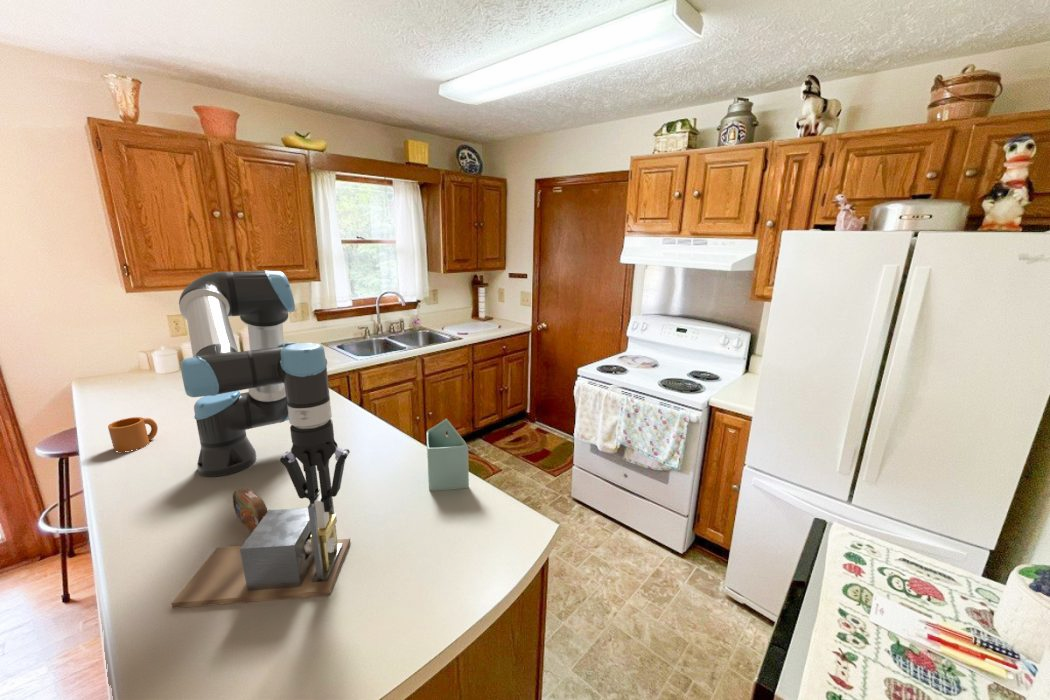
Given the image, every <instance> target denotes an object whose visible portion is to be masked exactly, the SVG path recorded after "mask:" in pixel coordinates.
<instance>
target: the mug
mask: <svg viewBox="0 0 1050 700" xmlns="http://www.w3.org/2000/svg"><path fill="white" fill-rule="evenodd" d="M146 425H149V426H150V432H149V433H148V431H147V427H146ZM107 428H108V433H109V437H110V440H111V443H112V447H113V450H115V451H118V452H125V451H131V450H135V451H137V450H136V449H138V450H140V449H139V448H141V449H143V448H145V447H147V446H148V445H149V444H150V441H152V440H153V439H154V438H155V437H156V436H157V433H158V424H157V422H156V421H155V420H154V419H152V418H149V417H142V416H141V417H140V416H138V417H137V416H133V417H127V418H121V419H117V420H115V421H113V422H111V423H109V424H108V425H107ZM151 439H152V440H151ZM149 440H150V441H149ZM147 444H148V445H147ZM146 445H147V446H146ZM144 446H145V447H144ZM142 447H143V448H142ZM115 451H114V452H115ZM131 452H132V451H131Z"/></svg>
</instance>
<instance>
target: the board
mask: <svg viewBox="0 0 1050 700" xmlns="http://www.w3.org/2000/svg"><path fill="white" fill-rule="evenodd" d="M337 543H338V544H340V543H342V549H341V551H340V553H339V556H338V558H337V560H336V563H335V565H334V567H333V570H332V572H331V575H330V577H329V579H328V581H324V582H312V578H313V576H314V574H315V572H316V567H315V559H314V560H313V562H312V564H311V566H310V568H309V570H308V572H307V574H306V576H305V578H304V580H303V582H302V584H301V587H291V588H278V589H266V590H253V591H247V585H246V580H245V574H244V569H243V563H242V558H241V552H240V548H241V547H242V545H235V546H221V547H220V546H219V547H216V548H215V549H214V550H213V552H212V553H211V554H210V556H209V557H208V558H207V559H206V560H205V561H204V563H203V564H202V565H201V566H200V568H199V569H197V571H196V572H195V574H194V575H193V576H192V577H191V578H190V580H189V581H187V583H186V585H185V586H183V588H182V589H181V590H180V592H179V593H178V594H177V595H176V596H175V598H174V599H173V600H172V601H171V603H170V604H171V609H175V608H176V609H177V608H187V607H188V608H191V607H202V606H212V605H223V604H225V605H226V604H240V603H250V602H260V601H273V600H286V599H297V598H300V599H301V598H310V597H322V596H330V595H331V592H332V590H333V587H334V585H335V582H336V580H337V577H338V574H339V572H340V570H341V567H342V564H343V563H344V559H345V558H346V555H347V552H348V550H349V548H350V545H351V538H343V539H342V538H341V539H337Z"/></svg>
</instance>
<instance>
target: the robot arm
mask: <svg viewBox="0 0 1050 700" xmlns="http://www.w3.org/2000/svg"><path fill="white" fill-rule="evenodd" d="M178 300H179V301H178V305H179V311H180V315H182V317H183V318H184V319H185V320H186V322H187V329H188V334H189V340H190V347H191V353H192V357H188V358H184V359H182V360H181V361H180V365H179V366H180V371H181V372H180V373H181V377H182V383H183V387H184V391H185V395H187V396H188V397H190V398H199V399H197V400H196V402H195V403H194V405H193V409H194V410H193V411H194V419H195V420H196V421H195V422H196V427H197V433H198V438H199V444H200V450H199V455H198V460H197V463H196V465H197V471H198V474H200V475H201V476H203V477H221V476H226V475H227V476H228V475H230V474H234V473H237V472H240V471H243V470H245V469H247V468H249V467H250V466H251V465H253V464H254V463H255V462H256V460H257V458H256V457H257V452H256V449H255V448H254V446H253V444H252V443H251V441H250V440H249V438H248V437H247V436H248V435H247V432H246V431H247V430H250V429H255V428H260V427H265V426H270V425H275V424H278V423H279V424H281V423H284V422H286V421H288V422H289V424H290V426H289V428H290V429H289V430H290V437H291V443H292V445H291V448H290V450H289V451H285V453H283V455H282V456H281V457H280V458H279V462H280V463H281V464H282V465H283V466H284V468H286V472H287V474H288V476H289V478H290V480H291V483H292V485H293V487H294V489H295V491H296V493H297V496H298V498H299V499H307V500H308V501H309V504H315V507H316V515H317V523H318V529H320V528H326V526H327V524H328V522H329V512H330V510H331V508H332V498H331V497H336V496H337V495H338V493H339V491H340V490H341V486H342V482H343V481H342V480H343V473H344V469H345V464H346V459H347V458H348V456H349V454H350V453H351V451H350V449H348V448H345V449H342V448H340V447H339V446H338V443H337V442H336V440H335V433H334V432H335V431H334V424H333V419H332V417H333V413H332V405H331V396H330V388H329V387H330V385H329V377H328V360H327V357H326V351H325V348H324V347H323V346H322V345H321V344H320V343H314V342H299V343H298V342H295V341H294V342H293V341H284V325H283V324H285V323H286V322H287V321H288V319H289V314H291V313H292V312H295V311H296V305H295V301H294V300H295V299H294V295H293V291H292V288H291V285H290V282H289V280H288V277H287V275H286V274H285V273H284V272H283V271H280V270H268V269H265V270H247V271H245V270H244V271H243V270H241V271H238V270H237V271H214V272H211V273H206V274H203V275H201V276H200V277H198V278H196V279H194V280H193V281H191V282H190V283H189V284H187V286H186V287H185V288H184V289H183V290H182V292H181V294H180V297H179V299H178ZM229 317H239V318H240V320H241V322H242V323H244V324H245V325H247V331H248V342H249V343H248V345H249V350H245V351H244V350H243V351H239V349H238V346H237V343H236V339H235V336H234V332H233V330H232V326H231V322H230V319H229ZM243 390H248V391H247V392H242V393H241V391H243ZM333 455H334V459H335V461H336V463H335V467H334V472H333V477H332V481H330V479H331V473H330V460H331V458H332V457H333ZM254 461H255V462H254ZM298 461H299V462H300V463H301V464H302V468H301V467H300V464H299V462H298ZM253 462H254V463H253ZM252 463H253V464H252ZM302 469H303V470H302ZM303 472H304V473H303ZM317 472H318V474H317ZM304 474H305V476H304ZM318 479H319V482H318ZM318 483H319V484H318ZM319 487H320V489H319ZM319 492H320V493H319Z"/></svg>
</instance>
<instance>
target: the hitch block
mask: <svg viewBox="0 0 1050 700" xmlns="http://www.w3.org/2000/svg"><path fill="white" fill-rule="evenodd" d="M330 481H331V478H330ZM331 482H332V481H331ZM331 498H332V508H331V510H330V512H329V515H331V514H335V507H334V498H333V496H332V497H331ZM335 530H336V531H337V526H336V524H335ZM310 536H312V543H313V551H314V554H307V555H305V550H304V542H305V540H306V539H311V538H310ZM336 539H337V540H338V535H337V533H336ZM241 546H242V547H241V548H240V552H241V558H242V563H243V569H244V574H245V580H246V585H247V591H253V590H266V589H278V588H291V587H301V584H302V582H303V580H304V578H305V576H306V574H307V572H308V570H309V568H310V566H311V564H312V562H313V560H314V559H315V567H316V572H315V574H314V576H313V578H312V582H324V581H328V579H329V577H330V575H331V572H332V570H333V567H334V565H335V563H336V560H337V558H338V556H339V553H340V551H341V549H342V543H340V544H338V543H337V550H336V552H332V553H328V560H329V569H328V571H323V564H322V556H321V547H320V539H319V531H318V523H317V515H316V507H315V504H310V503H309V505H308V506H307V507H303V508H286V509H283V508H282V509H269V510H268V512H267V514H266V515H265V516H264V517H263V519H262V520H261V521H260V523H259V524H258V525H257V527H256V528H255V529H254V531H253V532H250V534H249V536H248V537H247V538H246V539H245V541H244V542H243V544H242V545H241Z"/></svg>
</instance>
